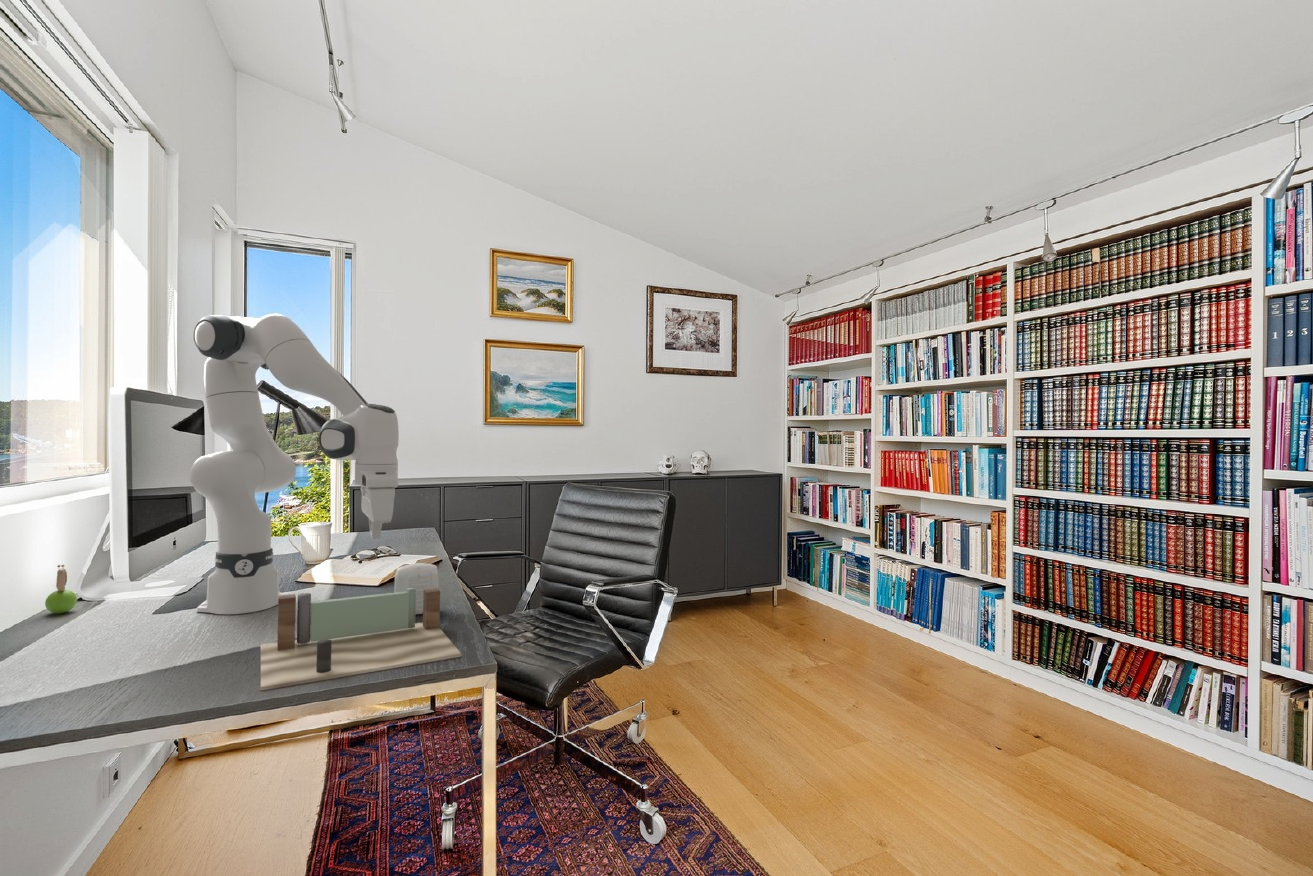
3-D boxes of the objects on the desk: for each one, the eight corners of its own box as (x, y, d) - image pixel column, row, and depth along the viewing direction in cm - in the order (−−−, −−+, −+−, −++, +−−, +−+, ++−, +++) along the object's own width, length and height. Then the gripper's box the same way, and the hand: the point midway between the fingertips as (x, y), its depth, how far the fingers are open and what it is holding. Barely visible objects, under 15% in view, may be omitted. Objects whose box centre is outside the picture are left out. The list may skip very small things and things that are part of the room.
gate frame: (260, 647, 129) (261, 594, 129) (433, 623, 147) (434, 577, 147) (260, 690, 109) (261, 627, 108) (461, 656, 127) (462, 602, 127)
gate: (297, 644, 128) (298, 596, 128) (296, 640, 130) (297, 594, 130) (416, 627, 140) (417, 584, 140) (413, 624, 142) (414, 582, 142)
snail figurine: (43, 619, 142) (44, 566, 142) (45, 612, 147) (46, 561, 147) (76, 614, 146) (76, 563, 146) (77, 608, 151) (77, 558, 150)
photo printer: (434, 608, 159) (436, 560, 159) (439, 612, 156) (440, 563, 156) (391, 614, 154) (392, 564, 153) (395, 618, 150) (396, 567, 150)
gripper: (355, 472, 148) (353, 531, 148) (367, 480, 130) (366, 546, 131) (383, 472, 151) (382, 529, 151) (399, 480, 134) (398, 544, 134)
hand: (375, 537), depth 141 cm, fingers closed
